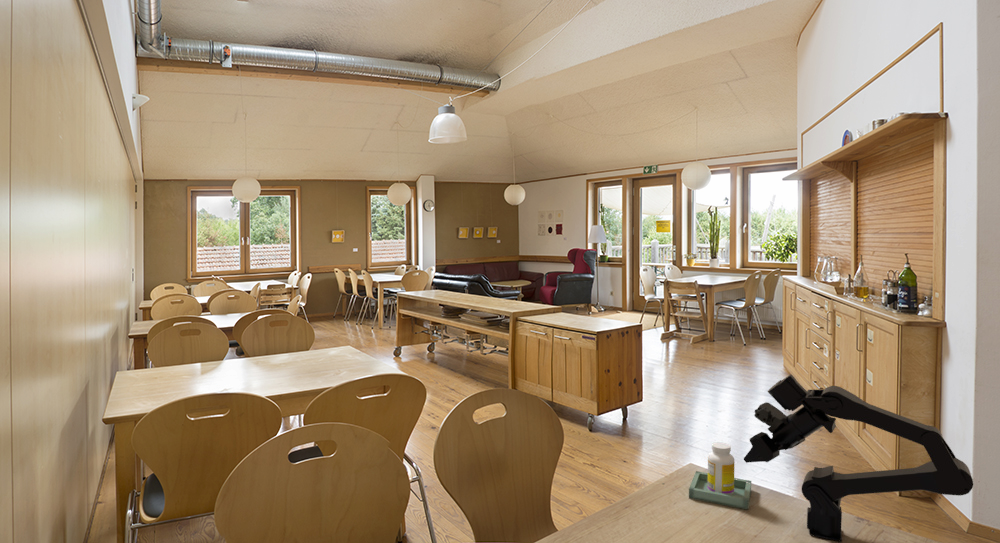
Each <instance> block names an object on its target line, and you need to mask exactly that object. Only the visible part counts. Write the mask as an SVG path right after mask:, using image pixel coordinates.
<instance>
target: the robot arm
mask: <svg viewBox="0 0 1000 543" xmlns="http://www.w3.org/2000/svg"><path fill="white" fill-rule="evenodd" d="M767 393H768V394H769V395H770V396H771V397H772V398H773V400H774V401H776V402H777V403H778V404H779V405H780V406H781V407H782V408H783V409H784V411H788V412H790V411H791V412H793V411H795V410H796V411H795V412H793V413H791V414H789V415H786V414H785V413H784V412H783V411H781V410H780V409H778V407H776V406H774V405H773V404H771V403H770V402H767V401H766V402H764V403H761V404H759V405H758V407H757V408H756V409H755V410H754V415H753V416H754V417H755V418H756V419H757V420H758V421H760V422H762V423H763V424H766V425H767V426H769V427H768V428H767V430H768V431H769V433H771V435H772V437H770V435H769V434H768V433H767V432H763V431H761V432H758V433H757V434H755V435H753V436H752V437H750V438H749V442H750V444H751V448H750V449H749V451H748V452H747V453H746V454H745V456H744V457H743V460H744V462H745V463H746V464H747V463H758V462H760V463H762V462H765V463H769V462H771V461H772V460H774V459H776V458H777V457H778V456H780V451H787V450H788V449H789V450H790V449H793V448H795V447H797V446H798V445H800V444H802V443H803V442H805V441H806V438H808V437H810V436H811V435H812V434H814V433H815V432H817V431H818V430H820V429H821V428H824V429H825V430H827V432H828V433H830V434H832V433H833V432H834V430H835V429H836V427H837V426H836V425H837V424H836V421H837V418H838V419H842V420H845V421H853V422H860V423H864V424H867V425H869V426H872V427H874V428H877V429H879V430H882V431H885V432H888V433H890V434H893V435H895V436H898V437H901V438H902V439H905V440H908V441H911V442H913V443H916V444H919V445H921V446H923V447H924V449H925V450H926V453H927V454H928V457H929V458H930V460H931V461H928V462H926V463H924V464H921V465H918V466H916V467H911V468H910V467H909V468H907V467H906V468H897V469H888V470H875V471H866V472H865V471H864V472H853V473H851V472H850V473H841V472H837V471H834V466H833V465H828V466H825V467H817V466H814V467H813V469H812V470H808V471H807V473H806V475H805V476H804V478H803V482H802V485H801V493H802V495H803V497H804V498H805V499H806V500H807V501H808V502H809V504H810V505H809V506H810V507H808V506H807V510H806V513H807V515H806V529H808V531H809V536H812V537H816V538H821V539H826V540H831V541H834V542H843V538H842V537H843V536H842V523H843V522H842V521H843V520H842V519H843V518H842V517H843V514H842V513H843V509H842V507H841V504H842V499H843V498H845V497H848V496H853V495H856V496H857V495H868V494H882V493H884V494H885V493H894V492H895V493H896V492H897V493H898V492H912V491H925V492H929V493H934V494H937V495H938V494H939V495H946V496H958V497H959V496H965V495H967V494H969V493H970V492H971V491H972V490H973V487H974V479H973V476H972V474H971V471H970V468H969V467H968V465H967V464H966V463H965V462H964V461H962V460H961V459H959V458H957V457H956V455H955V454H954V452H953V451H952V449H951V447H950V446H949V444H948V443H947V442H946V440H945V439H944V437H943V434H942V432H941V430H940V429H938V428H937V427H935V426H933V425H927V424H924V423H922V422H919V421H917V420H914V419H911V418H907V417H905V416H903V415H900V414H898V413H894V412H891V411H890V410H886V409H885V408H881V407H879V406H876V405H873V404H871V403H869V402H866V401H865V400H863V399H861V398H860V397H858V396H857V395H855V393H852V392H850V391H848V390H847V389H845V388H844V387H841V386H837V385H830V386H828V387H826V388H824V389H805V388H804V386H802V384H800V383H799V382H798V380H797V379H796V378H795V376H794V375H792V374H789V375H787V376H786V377H784V378H783V379H780V380H778V381H777V382H776V383H775V384H773V385H772V387H770V388H769V389H768V390H767ZM801 406H802V407H801ZM799 407H801V408H799ZM798 408H799V409H798Z"/></svg>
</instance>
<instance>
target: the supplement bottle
mask: <svg viewBox="0 0 1000 543" xmlns="http://www.w3.org/2000/svg"><path fill="white" fill-rule="evenodd" d="M711 450H712V451H711V452H709V454H707V455H708V456H707V473H708V490H709V491H713V492H718V493H723V494H729V495H733V493H734V478H735V457H734V455H732V454H731V451H732V449H731V445H730V444H728V443H726V442H720V441H717V442H713V443H712V444H711Z"/></svg>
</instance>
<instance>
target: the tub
mask: <svg viewBox="0 0 1000 543" xmlns="http://www.w3.org/2000/svg"><path fill="white" fill-rule="evenodd" d="M736 479H737V480H736ZM746 482H748V483H746ZM749 483H750V484H749ZM751 492H752V480H748V479H741V478H737V477H734V493H733V495H729V494H723V493H718V492H713V491H709V490H708V472H702V471H700V470H699V471H697V470H696V471H695V473H694V475H693V477H692V479H691V482H690V485H689V487H688V499H690V500H691V499H692V500H697V501H703V502H707V503H712V504H716V505H721V506H726V507H731V508H735V509H737V508H738V509H743V510H746V511H747V510H749V504H750V500H751Z"/></svg>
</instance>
